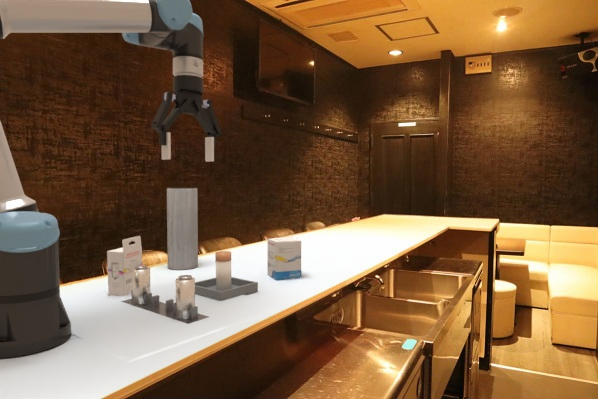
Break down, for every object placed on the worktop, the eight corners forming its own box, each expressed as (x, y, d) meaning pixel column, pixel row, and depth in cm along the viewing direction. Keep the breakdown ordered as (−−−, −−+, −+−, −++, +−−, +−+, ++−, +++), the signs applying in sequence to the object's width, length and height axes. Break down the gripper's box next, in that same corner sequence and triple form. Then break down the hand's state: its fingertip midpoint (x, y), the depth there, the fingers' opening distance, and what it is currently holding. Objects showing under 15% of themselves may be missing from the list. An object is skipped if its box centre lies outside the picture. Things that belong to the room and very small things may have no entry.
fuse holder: (187, 325, 87) (187, 281, 87) (120, 302, 104) (120, 265, 103) (209, 318, 92) (209, 277, 91) (141, 297, 108) (141, 262, 108)
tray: (220, 302, 104) (220, 292, 104) (187, 293, 112) (187, 284, 112) (257, 291, 114) (257, 282, 114) (224, 284, 122) (224, 275, 122)
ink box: (302, 278, 130) (302, 240, 130) (275, 280, 127) (275, 241, 127) (292, 272, 138) (292, 236, 138) (266, 274, 135) (266, 237, 135)
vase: (161, 269, 143) (160, 188, 142) (177, 263, 153) (176, 187, 151) (189, 270, 140) (188, 188, 139) (203, 265, 150) (202, 187, 149)
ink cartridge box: (126, 288, 118) (126, 234, 117) (143, 289, 117) (142, 235, 116) (106, 296, 109) (105, 239, 109) (124, 297, 108) (123, 239, 108)
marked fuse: (223, 292, 111) (222, 254, 110) (212, 290, 113) (212, 252, 112) (235, 289, 114) (234, 252, 113) (224, 287, 116) (223, 250, 116)
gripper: (153, 64, 98) (154, 157, 99) (234, 83, 117) (234, 161, 118) (135, 69, 102) (136, 158, 103) (216, 87, 122) (216, 162, 123)
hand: (188, 160), depth 111 cm, fingers open, 13 cm apart
